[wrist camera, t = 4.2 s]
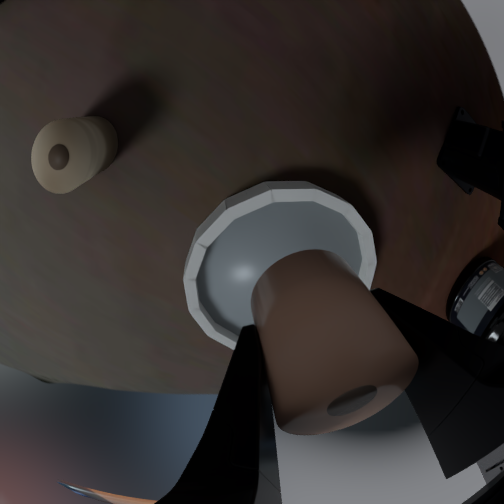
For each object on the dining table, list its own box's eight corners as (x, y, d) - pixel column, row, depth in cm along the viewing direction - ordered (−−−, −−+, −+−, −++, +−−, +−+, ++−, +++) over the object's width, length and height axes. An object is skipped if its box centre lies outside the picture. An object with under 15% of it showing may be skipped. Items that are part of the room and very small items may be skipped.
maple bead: (125, 122, 14) (98, 126, 10) (109, 180, 16) (82, 201, 12) (75, 111, 13) (38, 114, 9) (62, 167, 15) (27, 185, 11)
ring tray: (391, 222, 20) (405, 232, 19) (312, 346, 26) (318, 361, 24) (226, 149, 16) (227, 153, 14) (168, 319, 22) (166, 335, 20)
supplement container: (470, 314, 31) (513, 365, 20) (430, 323, 29) (479, 388, 18) (499, 253, 26) (553, 301, 15) (464, 251, 24) (533, 313, 14)
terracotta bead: (354, 237, 9) (436, 326, 5) (352, 320, 11) (400, 405, 7) (239, 265, 9) (264, 387, 5) (261, 346, 11) (284, 446, 7)
